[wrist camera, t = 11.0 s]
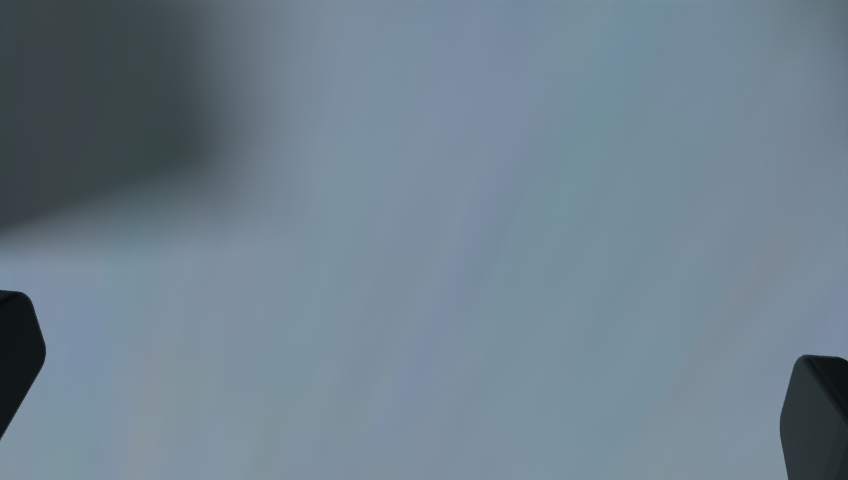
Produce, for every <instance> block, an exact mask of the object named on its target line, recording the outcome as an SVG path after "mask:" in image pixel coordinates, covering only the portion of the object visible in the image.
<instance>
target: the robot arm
mask: <svg viewBox="0 0 848 480" xmlns="http://www.w3.org/2000/svg"><path fill="white" fill-rule="evenodd" d="M45 356H46V346H45V342H44V339H43V336H42V332H41V329H40V326H39V323H38V320H37V316H36V313H35V310H34V307H33V304H32V301H31V300H30V298H29V297H28V296H27V295H26V294H24V293H22V292H18V291H5V290H0V440H1V438H2V436H3V434H4V433H5V431H6V429H7V427H8V426H9V424H10V422H11V420H12V419H13V417H14V415H15V414H16V412H17V410H18V408H19V407H20V405H21V403H22V401H23V400H24V398H25V396H26V394H27V393H28V391H29V389H30V388H31V386H32V384H33V382H34V381H35V379H36V377H37V375H38V374H39V372H40V370H41V368H42V366H43V364H44V361H45ZM780 437H781V443H782V448H783V454H784V459H785V464H786V470H787V475H788V480H848V361H847V360H845V359H843V358H840V357H832V356H819V355H803V356H801V357H799V358H798V359H797V361H796V363H795V364H794V367H793V371H792V374H791V378H790V382H789V386H788V389H787V393H786V397H785V401H784V404H783V408H782V412H781V416H780Z"/></svg>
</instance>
